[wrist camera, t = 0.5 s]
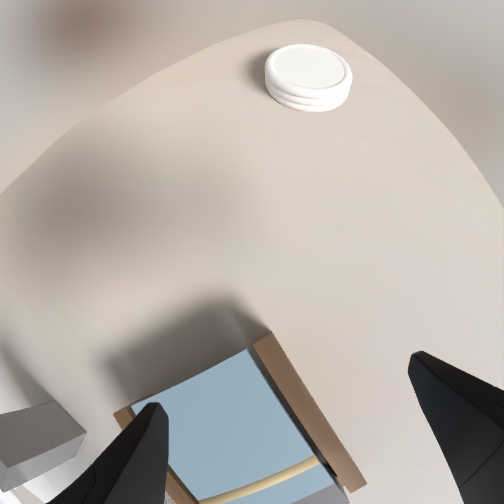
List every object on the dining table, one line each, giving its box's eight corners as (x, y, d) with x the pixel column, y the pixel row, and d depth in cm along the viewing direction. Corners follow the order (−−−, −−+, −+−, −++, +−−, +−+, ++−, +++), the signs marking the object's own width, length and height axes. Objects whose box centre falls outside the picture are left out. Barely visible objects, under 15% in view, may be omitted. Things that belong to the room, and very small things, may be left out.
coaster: (254, 69, 31) (252, 49, 27) (324, 57, 31) (327, 38, 27) (284, 123, 28) (285, 101, 25) (362, 106, 28) (369, 87, 25)
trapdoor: (243, 525, 17) (240, 545, 14) (146, 397, 20) (129, 406, 17) (342, 485, 17) (350, 503, 14) (249, 345, 21) (245, 349, 18)
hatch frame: (231, 522, 18) (224, 550, 14) (138, 399, 22) (112, 413, 17) (358, 468, 19) (373, 493, 15) (271, 331, 23) (272, 334, 18)
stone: (86, 432, 21) (7, 468, 9) (74, 456, 21) (3, 492, 8) (56, 400, 22) (-27, 419, 10) (45, 426, 21) (-29, 449, 9)
